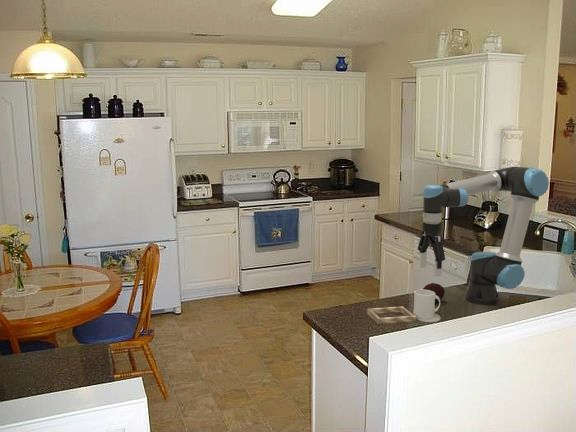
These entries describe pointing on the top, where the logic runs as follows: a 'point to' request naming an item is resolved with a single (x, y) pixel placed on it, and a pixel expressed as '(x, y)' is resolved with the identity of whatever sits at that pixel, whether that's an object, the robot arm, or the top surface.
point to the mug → (425, 304)
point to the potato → (435, 290)
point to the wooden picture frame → (407, 318)
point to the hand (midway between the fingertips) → (430, 271)
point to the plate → (434, 319)
